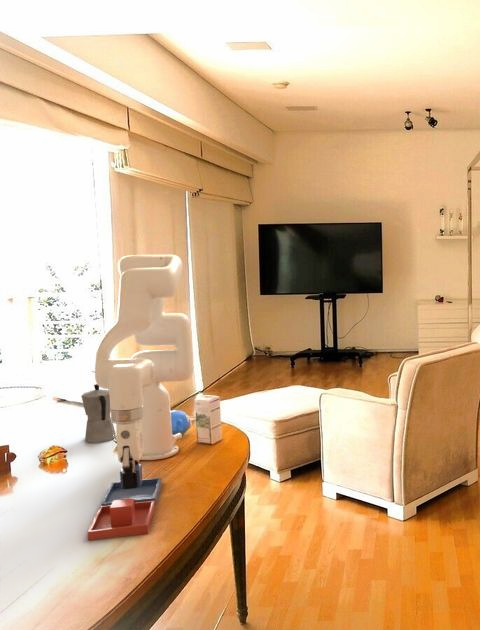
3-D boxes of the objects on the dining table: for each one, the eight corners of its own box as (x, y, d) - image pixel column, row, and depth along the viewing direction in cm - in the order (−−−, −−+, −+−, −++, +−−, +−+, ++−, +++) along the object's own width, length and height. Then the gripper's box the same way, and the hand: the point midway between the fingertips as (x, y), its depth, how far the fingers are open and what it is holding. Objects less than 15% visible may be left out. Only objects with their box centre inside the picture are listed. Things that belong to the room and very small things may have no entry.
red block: (114, 518, 157) (113, 500, 157) (135, 516, 159) (134, 498, 158) (111, 526, 153) (109, 508, 153) (132, 524, 154) (131, 505, 154)
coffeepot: (80, 436, 221) (76, 382, 219) (111, 430, 227) (107, 378, 225) (90, 448, 209) (86, 391, 207) (122, 442, 215) (119, 387, 212)
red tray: (100, 514, 161) (100, 506, 161) (155, 508, 164) (154, 500, 164) (88, 540, 148) (87, 531, 147) (147, 533, 151) (147, 524, 150)
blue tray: (112, 489, 176) (111, 482, 176) (161, 484, 179) (161, 477, 179) (101, 511, 162) (101, 503, 162) (155, 505, 166) (155, 498, 165)
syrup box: (222, 439, 217) (220, 395, 215) (211, 445, 211) (209, 399, 209) (207, 437, 219) (205, 394, 217) (196, 443, 213) (193, 398, 211)
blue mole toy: (205, 436, 220) (203, 411, 219) (167, 442, 214) (165, 417, 213) (195, 427, 230) (194, 403, 229) (159, 433, 224) (157, 408, 223)
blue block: (123, 482, 172) (122, 465, 171) (142, 481, 173) (141, 464, 172) (120, 489, 167) (119, 471, 167) (140, 487, 169) (139, 469, 168)
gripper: (138, 421, 161) (143, 495, 163) (147, 404, 177) (151, 471, 179) (104, 424, 159) (109, 498, 161) (116, 406, 175) (121, 474, 177)
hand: (132, 483), depth 170 cm, fingers closed on blue block, 4 cm apart
